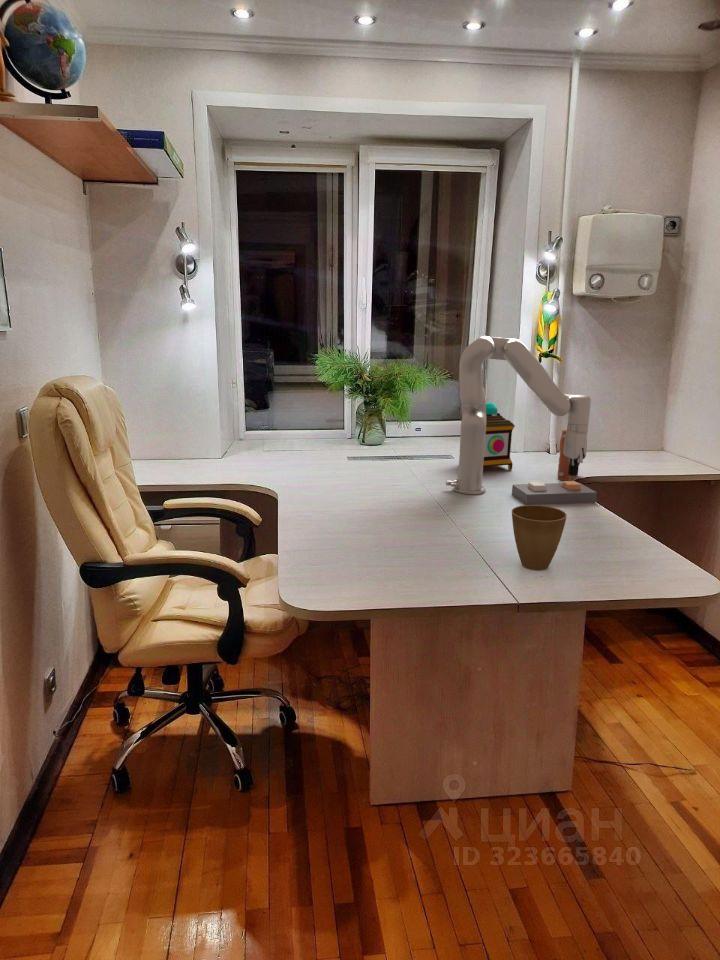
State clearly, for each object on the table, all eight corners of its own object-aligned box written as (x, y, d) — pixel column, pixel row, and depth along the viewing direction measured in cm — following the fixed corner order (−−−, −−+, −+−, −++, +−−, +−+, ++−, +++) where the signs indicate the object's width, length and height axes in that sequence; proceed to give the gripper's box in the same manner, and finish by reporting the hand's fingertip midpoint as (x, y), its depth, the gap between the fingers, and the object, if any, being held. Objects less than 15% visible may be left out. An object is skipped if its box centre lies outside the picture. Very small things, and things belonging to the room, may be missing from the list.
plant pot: (551, 555, 195) (556, 504, 191) (568, 576, 180) (574, 521, 176) (501, 555, 194) (506, 504, 190) (514, 575, 180) (519, 520, 176)
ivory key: (533, 493, 248) (534, 485, 248) (527, 489, 253) (528, 482, 252) (545, 493, 249) (546, 485, 248) (540, 489, 254) (540, 481, 253)
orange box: (554, 479, 281) (563, 472, 293) (571, 482, 277) (579, 474, 290) (559, 430, 275) (568, 425, 288) (576, 432, 272) (584, 426, 284)
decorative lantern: (516, 471, 294) (522, 404, 286) (478, 474, 287) (483, 406, 279) (492, 461, 312) (496, 398, 304) (455, 464, 305) (459, 399, 297)
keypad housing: (526, 504, 244) (527, 494, 243) (511, 494, 257) (512, 484, 256) (595, 502, 249) (597, 492, 248) (577, 492, 262) (579, 482, 261)
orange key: (567, 492, 251) (568, 484, 250) (561, 488, 256) (562, 481, 255) (579, 491, 252) (580, 484, 251) (573, 488, 256) (574, 481, 256)
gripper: (559, 424, 254) (554, 470, 258) (577, 432, 239) (573, 480, 244) (577, 424, 255) (572, 470, 260) (596, 431, 241) (591, 479, 245)
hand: (572, 475), depth 252 cm, fingers closed
